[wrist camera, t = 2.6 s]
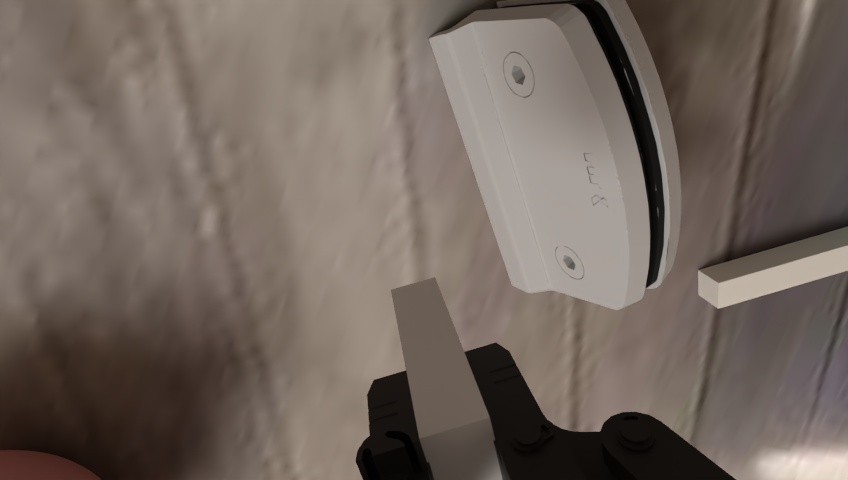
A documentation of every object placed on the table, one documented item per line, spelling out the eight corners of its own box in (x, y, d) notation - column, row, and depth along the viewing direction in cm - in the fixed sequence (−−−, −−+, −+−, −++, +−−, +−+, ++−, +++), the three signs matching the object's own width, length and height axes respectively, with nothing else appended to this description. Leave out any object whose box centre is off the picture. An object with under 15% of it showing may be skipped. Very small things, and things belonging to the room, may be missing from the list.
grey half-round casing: (425, 30, 25) (559, -14, 17) (496, 0, 27) (653, -55, 18) (513, 290, 32) (640, 355, 23) (566, 254, 33) (704, 304, 25)
